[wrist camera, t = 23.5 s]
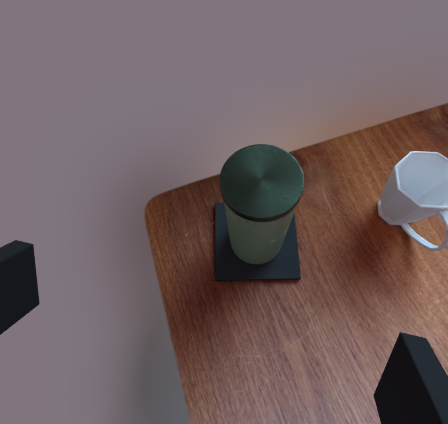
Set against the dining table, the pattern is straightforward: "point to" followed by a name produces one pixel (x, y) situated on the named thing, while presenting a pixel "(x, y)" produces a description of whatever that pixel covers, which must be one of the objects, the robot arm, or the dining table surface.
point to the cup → (416, 193)
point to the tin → (260, 200)
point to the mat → (240, 270)
